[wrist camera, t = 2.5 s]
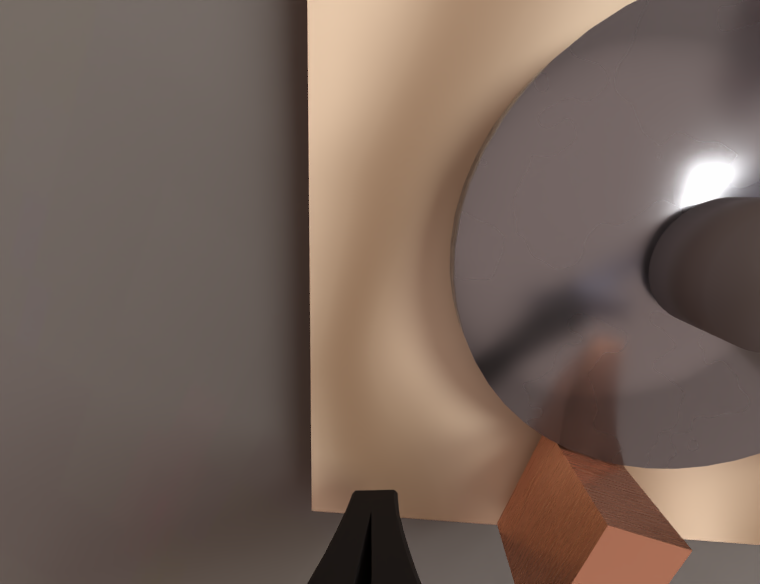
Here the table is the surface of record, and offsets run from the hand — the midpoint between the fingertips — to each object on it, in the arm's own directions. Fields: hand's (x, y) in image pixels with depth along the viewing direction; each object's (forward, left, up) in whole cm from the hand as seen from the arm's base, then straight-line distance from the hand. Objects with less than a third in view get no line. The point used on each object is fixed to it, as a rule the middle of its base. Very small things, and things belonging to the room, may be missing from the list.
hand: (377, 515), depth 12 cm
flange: (-7, -7, -1) cm, 10 cm away
